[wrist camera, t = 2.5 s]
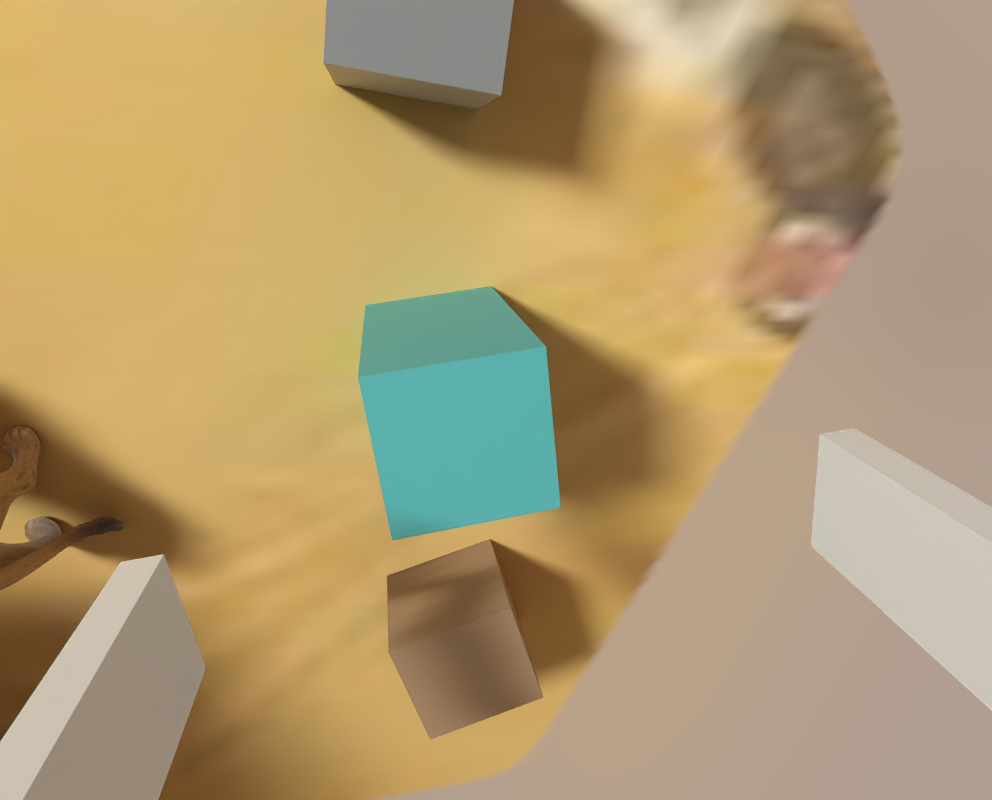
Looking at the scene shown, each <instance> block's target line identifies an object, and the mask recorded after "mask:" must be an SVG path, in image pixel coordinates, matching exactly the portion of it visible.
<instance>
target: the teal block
mask: <svg viewBox="0 0 992 800" xmlns="http://www.w3.org/2000/svg"><path fill="white" fill-rule="evenodd" d="M358 378H359V383H360V388H361V393H362V397H363V402H364V407H365V412H366V417H367V421H368V426H369V431H370V436H371V441H372V445H373V450H374V455H375V460H376V465H377V469H378V474H379V479H380V484H381V489H382V493H383V498H384V503H385V508H386V512H387V517H388V522H389V527H390V532H391V536H392V540H397V539H402V538H407V537H412V536H417V535H422V534H427V533H433V532H438V531H443V530H448V529H453V528H458V527H463V526H469V525H474V524H479V523H484V522H489V521H494V520H499V519H504V518H510V517H515V516H520V515H525V514H530V513H535V512H540V511H545V510H551V509H556V508H561V505H560V494H559V483H558V472H557V461H556V450H555V439H554V428H553V417H552V407H551V396H550V385H549V374H548V363H547V352H546V346H545V345H544V344H543V343H542V341H541V340H540V339H539V338H538V337H537V336H536V335H535V334H534V333H533V332H532V330H531V329H530V328H529V327H528V326H527V325H526V324H525V323H524V322H523V321H522V319H521V318H520V317H519V316H518V315H517V314H516V313H515V312H514V311H513V310H512V308H511V307H510V306H509V305H508V304H507V303H506V302H505V301H504V300H503V299H502V297H501V296H500V295H499V294H498V293H497V292H496V291H495V290H494V289H493V288H492V286H490V287H484V288H477V289H470V290H464V291H457V292H451V293H444V294H437V295H431V296H424V297H417V298H411V299H404V300H398V301H391V302H384V303H378V304H371V305H366V307H365V317H364V326H363V336H362V346H361V356H360V365H359V375H358Z"/></svg>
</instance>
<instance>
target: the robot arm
mask: <svg viewBox="0 0 992 800" xmlns="http://www.w3.org/2000/svg"><path fill="white" fill-rule="evenodd" d="M811 546H812V547H813V548H814V549H815V550H816V551H817V552H818V553H819V554H820V555H821V556H823V557H824V558H825V559H826V560H827V561H828V562H829V563H830V564H831V565H832V566H834V567H835V568H836V569H837V570H838V571H839V572H840V573H841V574H842V575H844V576H845V577H846V578H847V579H848V580H849V581H850V582H851V583H852V584H853V585H855V587H857V588H858V589H859V590H860V591H861V592H862V593H863V594H864V595H865V596H866V597H868V598H869V599H870V600H871V601H872V602H873V603H874V604H875V605H876V606H877V607H879V608H880V609H881V610H882V611H883V612H884V613H885V614H886V615H887V616H888V617H889V618H891V619H892V620H893V621H894V622H895V623H896V624H897V625H898V626H899V627H900V628H902V629H903V630H904V631H905V632H906V633H907V634H908V635H909V636H910V637H912V638H913V639H914V640H915V641H916V642H917V643H918V644H919V645H920V646H921V647H923V649H925V650H926V651H927V652H928V653H929V654H930V655H931V656H932V657H933V658H934V659H936V660H937V661H938V662H939V663H940V664H941V665H942V666H943V667H944V668H945V669H947V670H948V671H949V672H950V673H951V674H952V675H953V676H954V677H955V678H956V679H957V680H959V681H960V682H961V683H962V684H963V685H964V686H965V687H966V688H967V689H968V690H970V691H971V692H972V693H973V694H974V695H975V696H976V697H977V698H978V699H979V700H981V701H982V702H983V703H984V704H985V705H986V706H987V707H988V708H989V709H991V710H992V507H991V506H989V505H987V504H985V503H984V502H982V501H980V500H979V499H977V498H975V497H973V496H971V495H970V494H968V493H966V492H965V491H963V490H961V489H959V488H958V487H956V486H954V485H952V484H950V483H949V482H947V481H945V480H944V479H942V478H940V477H938V476H937V475H935V474H933V473H931V472H930V471H928V470H926V469H924V468H923V467H921V466H919V465H917V464H916V463H914V462H912V461H910V460H909V459H907V458H905V457H904V456H901V455H900V454H898V453H896V452H895V451H893V450H891V449H890V448H888V447H886V446H884V445H883V444H881V443H879V442H877V441H876V440H874V439H872V438H870V437H869V436H867V435H865V434H863V433H861V432H860V431H858V430H856V429H855V428H852V429H846V430H841V431H835V432H830V433H825V434H820V439H819V452H818V464H817V477H816V489H815V501H814V515H813V526H812V539H811ZM205 670H206V666H205V664H204V661H203V658H202V656H201V653H200V650H199V648H198V645H197V642H196V639H195V637H194V634H193V631H192V629H191V626H190V623H189V620H188V618H187V615H186V612H185V610H184V607H183V604H182V602H181V599H180V596H179V593H178V591H177V588H176V585H175V583H174V580H173V577H172V574H171V572H170V569H169V566H168V564H167V561H166V558H165V555H164V554H162V555H156V556H151V557H145V558H140V559H134V560H129V561H123V562H121V563H120V564H119V566H118V567H117V569H116V570H115V572H114V573H113V575H112V576H111V578H110V579H109V581H108V582H107V584H106V585H105V587H104V588H103V589H102V591H101V592H100V594H99V595H98V597H97V598H96V600H95V601H94V603H93V604H92V606H91V607H90V609H89V610H88V612H87V613H86V615H85V616H84V618H83V619H82V621H81V622H80V624H79V625H78V627H77V628H76V630H75V631H74V633H73V634H72V636H71V637H70V639H69V640H68V642H67V643H66V645H65V646H64V648H63V649H62V651H61V652H60V654H59V655H58V656H57V658H56V659H55V661H54V662H53V664H52V665H51V667H50V668H49V670H48V671H47V673H46V674H45V676H44V677H43V679H42V680H41V682H40V683H39V685H38V686H37V688H36V689H35V691H34V692H33V694H32V695H31V697H30V698H29V700H28V701H27V703H26V704H25V706H24V707H23V709H22V710H21V712H20V713H19V715H18V716H17V718H16V719H15V721H14V722H13V723H12V725H11V726H10V728H9V729H8V731H7V732H6V734H5V735H4V737H3V738H2V740H1V741H0V800H158V799H159V796H160V794H161V791H162V788H163V785H164V783H165V780H166V777H167V774H168V772H169V769H170V766H171V763H172V761H173V758H174V755H175V752H176V750H177V747H178V744H179V741H180V739H181V736H182V733H183V730H184V728H185V725H186V722H187V719H188V717H189V714H190V711H191V708H192V705H193V703H194V700H195V697H196V694H197V692H198V689H199V686H200V683H201V681H202V678H203V675H204V672H205Z"/></svg>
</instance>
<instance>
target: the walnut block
mask: <svg viewBox="0 0 992 800" xmlns="http://www.w3.org/2000/svg"><path fill="white" fill-rule="evenodd" d="M387 593H388V641H389V654H390V656H391V658H392V660H393V662H394V664H395V666H396V668H397V671H398V673H399V675H400V677H401V679H402V681H403V683H404V685H405V687H406V689H407V692H408V694H409V696H410V698H411V700H412V702H413V704H414V706H415V708H416V711H417V713H418V715H419V717H420V719H421V721H422V723H423V725H424V727H425V729H426V732H427V734H428V736H429V738H430V740H431V739H433V738H436V737H439V736H441V735H444V734H447V733H449V732H452V731H455V730H457V729H460V728H463V727H465V726H468V725H471V724H473V723H476V722H479V721H481V720H484V719H487V718H489V717H492V716H495V715H497V714H500V713H503V712H506V711H508V710H511V709H514V708H516V707H519V706H522V705H524V704H527V703H530V702H532V701H535V700H538V699H540V698H543V696H542V692H541V689H540V686H539V683H538V680H537V676H536V673H535V670H534V667H533V663H532V660H531V657H530V654H529V650H528V647H527V644H526V641H525V637H524V634H523V631H522V628H521V624H520V621H519V618H518V615H517V613H516V610H515V607H514V604H513V602H512V599H511V596H510V593H509V590H508V588H507V585H506V582H505V579H504V576H503V574H502V571H501V568H500V565H499V563H498V560H497V557H496V554H495V551H494V549H493V546H492V543H491V540H490V539H489V540H486V541H483V542H480V543H478V544H475V545H472V546H469V547H466V548H464V549H461V550H458V551H455V552H452V553H450V554H447V555H444V556H441V557H438V558H436V559H433V560H430V561H427V562H424V563H422V564H419V565H416V566H413V567H410V568H408V569H405V570H402V571H399V572H396V573H394V574H391V575H388V576H387Z"/></svg>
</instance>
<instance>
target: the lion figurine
mask: <svg viewBox="0 0 992 800" xmlns="http://www.w3.org/2000/svg"><path fill="white" fill-rule="evenodd" d="M0 444H1V447H2V448H3V449H4V450H5V451H6V452H7V453H8V454H9V455H11V456H12V457H13V458H14V461H13V465H12V466H11V467H10V468H9V469H8V470H7V471H5V472H2V473H0V529H1V527H2V524H3V522H4V519H5V516H6V514H7V511H8V509H9V507H10V505H11V503H12V502H13V500H14V499H15V498H17V497H18V496H20V495H22V494H25V493H27V492H29V491H30V490H32V489H33V488H34V486H35V484H36V470H37V463H38V459H39V456H40V451H41V445H40V441H39V438H38V437H37V435H36V434H35V432H34V431H33V430H31V429H30V428H28V427H24V426H15V427H13V428H12V429H10V430H9V431H8V432H7V433H6V434H5V435H4V437H3V438H2V439H1V443H0ZM124 526H125V524H124V523H123V522H120V521H118V520H116V519H114V518H111V517H104V518H99V519H95V520H92V521H90V522H87V523H84V524H81V525H78V526H77V527H75V528H73V529H72V530H70V531H68V532H66V533H65V534H63V535H62V532H61V529H60V527H59V526H58V525H57V524H56V523H55V522H54V521H52V520H50V519H48V518H46V517H39V518H36V519H32V520H30V521H28V522H27V523H26V524H25V535H26V537H27V538H28V539H29V541H30V542H26V543H19V544H6V543H0V590H2V589H4V588H6V587H8V586H10V585H12V584H14V583H16V582H18V581H19V580H21V579H22V578H24V577H26V576H27V575H29V574H30V573H32V572H33V571H35V570H36V569H38V568H39V567H40V566H42V565H43V564H44V563H46V562H47V561H49V560H50V559H52V558H53V557H54V556H56V555H57V554H58V553H59V552H61V551H62V550H64V549H65V548H67V547H68V546H70V545H72V544H73V543H76V542H78V541H80V540H82V539H84V538H86V537H88V536H92V535H98V534H103V533H106V532H108V531H117V530H121V529H123V528H124Z"/></svg>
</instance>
